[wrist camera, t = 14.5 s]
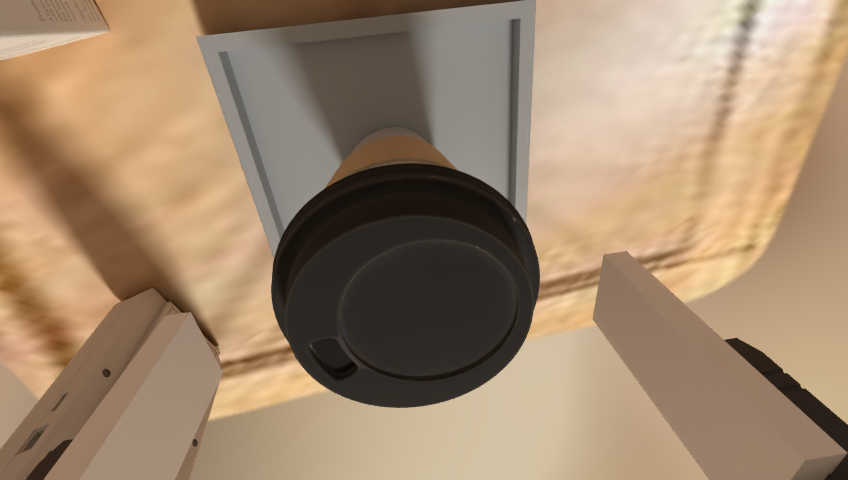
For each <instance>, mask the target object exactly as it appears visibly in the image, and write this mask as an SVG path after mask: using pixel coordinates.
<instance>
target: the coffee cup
mask: <svg viewBox="0 0 848 480" xmlns="http://www.w3.org/2000/svg"><path fill="white" fill-rule="evenodd" d="M539 285H540V269H539V262H538V257H537V254H536V250H535V247H534V244H533V241H532V237H531V235H530V232H529V230H528V227H527V225H526V224H525V222H524V220H523V218H522V217H521V215H520V214H519V212H518V211H517V210H516V209H515V207H514V206H513V205H512V204H511V203H510V202H509V201H508V200H507V199H506V198H505V197H504V196H503V195H502V194H501V193H499V192H498V191H497V190H495V189H494V188H493V187H491V186H490V185H488V184H487V183H485V182H483V181H482V180H480V179H478V178H476V177H474V176H471V175H469V174H467V173H464V172H461V171H458V170H457V169H456V168H455V167H454V166H453V165H452V164H451V163H450V162H449V161H448V160H447V158H446V157H445V156H444V155H443V154H442V153H441V152H440V151H438V150H437V149H436V148H434V147H433V146H432V145H430V144H429V143H427V142H426V141H425V140H424V139H423V138H422V137H421V136H420V135H418V134H417V133H416V132H414V131H411V130H409V129H407V128H401V127H388V128H384V129H380V130H378V131H375V132H373V133H371V134H370V135H368V136H367V137H365V138H364V139H363V140H362V141H361V142H359V143H358V144H357V146H356V147H355V149H354V150H353V151H352V153H351V154H350V155H349V156H348V157H347V158H346V159H345V160H344V161H343V162H342V163H341V165H340V166H339V168H338V169H337V171H336V172H335V174H334V175H333V177H332V178H331V180H330V181H329V183H328V184H327V186H326V187H325V189H323V190H322V191H321V192H319V193H318V194H317V195H315V196H314V197H313V198H312V199H311V200H309V201H308V202H307V203H306V204H305V205H304V206H303V207H302V208H301V209H300V210H299V211H298V212H297V214H296V215H295V216H294V218H293V219H292V220H291V222H290V223H289V224H288V226H287V228H286V230H285V231H284V233H283V235H282V237H281V239H280V242H279V244H278V247H277V250H276V253H275V258H274V263H273V272H272V285H271V294H272V304H273V309H274V313H275V316H276V319H277V322H278V324H279V327H280V329H281V331H282V332H283V334H284V336H285V338H286V339H287V341H288V342H289V344H290V347H291V349H292V351H293V353H294V355H295V357H296V359H297V360H298V361H299V363H300V364H301V366H302V367H303V368H304V369H305V370H306V372H307V373H308V374H309V375H310V376H312V377H313V378H314V379H315V380H316V381H317V382H319V383H320V384H321V385H323V386H324V387H326V388H327V389H329V390H331V391H333V392H334V393H337V394H339V395H341V396H343V397H345V398H348V399H351V400H354V401H357V402H361V403H364V404H369V405H374V406H381V407H394V408H408V407H419V406H426V405H432V404H436V403H440V402H444V401H448V400H450V399H454V398H456V397H459V396H462V395H464V394H466V393H468V392H470V391H472V390H474V389H476V388H478V387H480V386H481V385H483V384H484V383H486V382H487V381H489V380H490V379H491V378H493V377H494V376H496V375H497V374H498V373H499V372H500V371H501V370H503V368H505V367H506V366H507V364H508V363H509V362H510V361H511V360H512V359H513V358H514V356H515V355H516V354H517V352H518V351H519V349H520V348H521V346H522V345H523V343H524V341H525V339H526V337H527V334H528V332H529V329H530V325H531V322H532V316H533V311H534V308H535V305H536V301H537V298H538V292H539Z"/></svg>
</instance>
